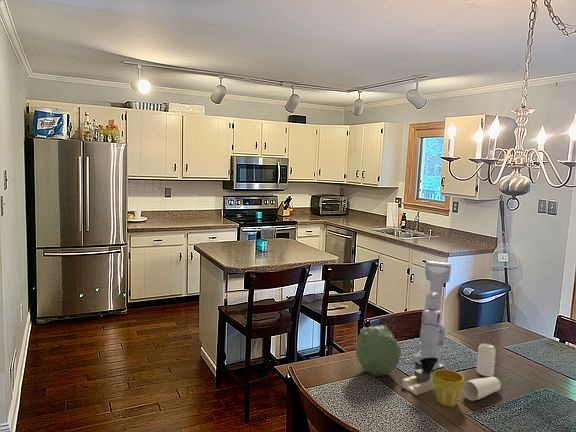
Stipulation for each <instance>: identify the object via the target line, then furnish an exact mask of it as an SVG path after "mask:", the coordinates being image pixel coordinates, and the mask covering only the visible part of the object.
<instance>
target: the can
mask: <svg viewBox="0 0 576 432" xmlns="http://www.w3.org/2000/svg"><path fill="white" fill-rule="evenodd" d="M477 350H478V351H477V361H476V373H477V374H479V376H483V377H485V378H487V377H491V376H493V377H494V373H495V367H496V366H495V365H496V346H495V345H494V344H492V343H490V342H480V343H479V346H478V348H477Z"/></svg>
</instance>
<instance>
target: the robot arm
mask: <svg viewBox="0 0 576 432" xmlns="http://www.w3.org/2000/svg"><path fill="white" fill-rule="evenodd" d="M424 267H425V269H424V274H425V278H426V280H427V281H429V282H430V284H429V285H430V286H429V287H430V289H429V293H427V294H426V295H425V296H426V297H425V304H424V310H422V314H421V328H420V332H419V342H417V346H416V349H415V350H416V352H415V354H413V357H412V359H413V361H414V363H417V364H418V365H420V366H421V367H422V370H423V371H425V372H427V373H429V374H431V372H433V370H434V371H435V370H439V369H441V368H443V367H445V364H442V363H441V356H442V355H444V348H442V347H443V346H445V345H446V344H445V342H446V328H445V327H446V326H444V324H442V322H441V319H442V312H441V309H442V298H443V297H442V295H443V287H444V284H445V283H449V281H450V278H451V271H452V264H451V263H450V262H442V261H433V260H432V261H431V260H426V261H425V266H424Z"/></svg>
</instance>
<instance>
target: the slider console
mask: <svg viewBox="0 0 576 432" xmlns="http://www.w3.org/2000/svg"><path fill="white" fill-rule="evenodd" d="M433 373H434V371H432V372H431V375H430V380H427V381H425V382H423V383H417V377H416V376H414V375H411V376H408V377H405V378H403V379H402V382H401V384H402V385H401V387H402V388H403V389H405V390H407V391H409V392H410V393H412V394H413V395H415V396H419V395H421V394H424V393H426V392H429V391H431V390H435V385H434V383H433Z"/></svg>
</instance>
